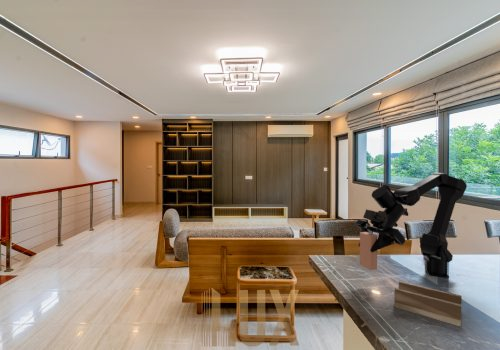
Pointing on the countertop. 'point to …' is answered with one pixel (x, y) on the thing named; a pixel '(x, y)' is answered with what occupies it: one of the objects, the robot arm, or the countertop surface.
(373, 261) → the salmon orange rectangular block
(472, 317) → the countertop surface
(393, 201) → the robot arm
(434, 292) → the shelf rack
